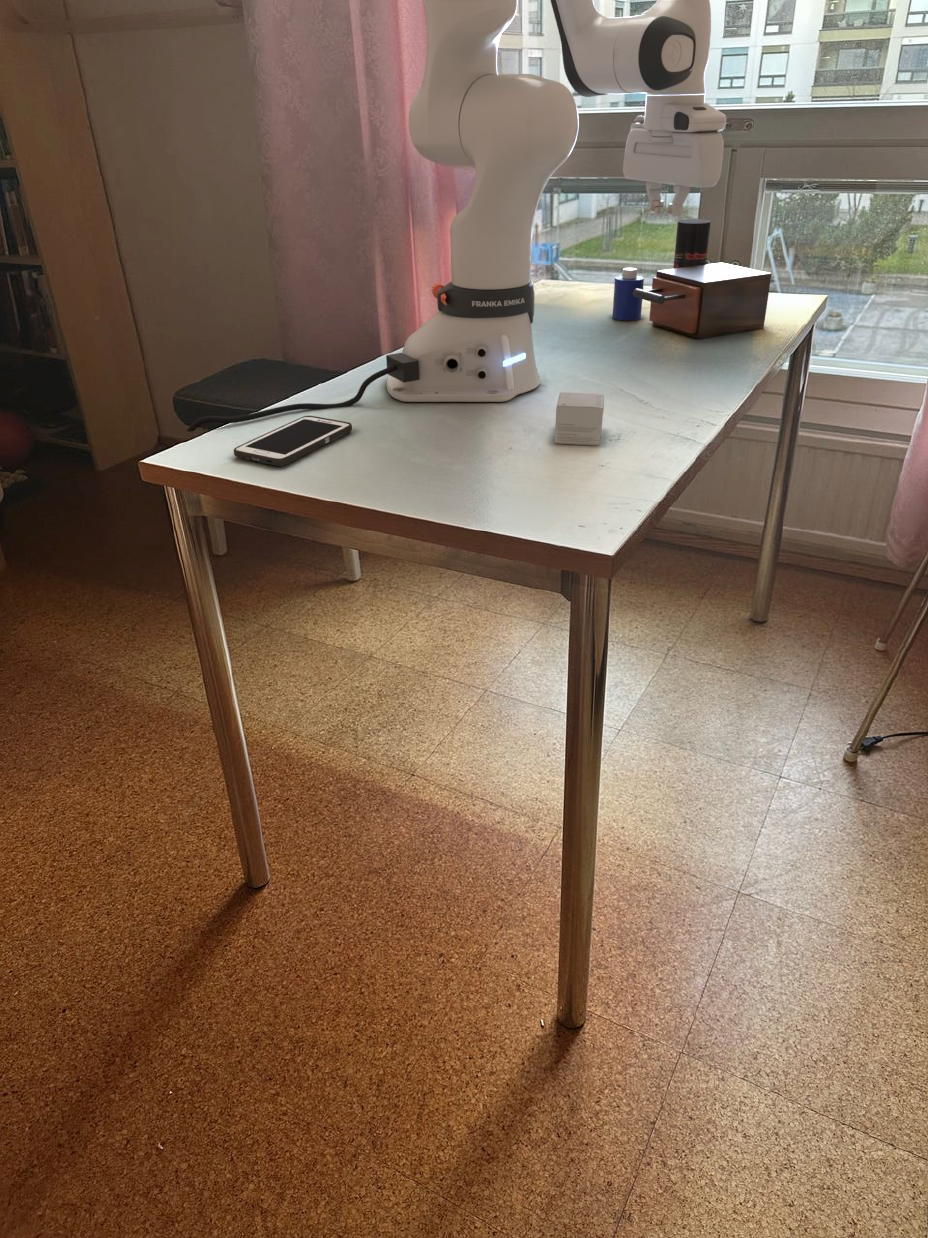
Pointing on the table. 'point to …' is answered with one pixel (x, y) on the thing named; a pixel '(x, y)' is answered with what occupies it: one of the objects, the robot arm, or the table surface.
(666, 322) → the wooden drawer
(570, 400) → the small box
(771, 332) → the table surface
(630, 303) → the detergent bottle
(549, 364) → the table surface
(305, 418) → the cell phone
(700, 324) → the drawer box
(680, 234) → the deodorant
